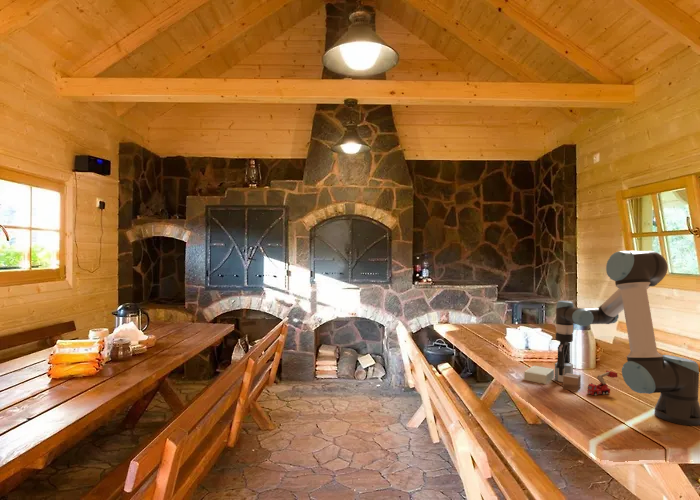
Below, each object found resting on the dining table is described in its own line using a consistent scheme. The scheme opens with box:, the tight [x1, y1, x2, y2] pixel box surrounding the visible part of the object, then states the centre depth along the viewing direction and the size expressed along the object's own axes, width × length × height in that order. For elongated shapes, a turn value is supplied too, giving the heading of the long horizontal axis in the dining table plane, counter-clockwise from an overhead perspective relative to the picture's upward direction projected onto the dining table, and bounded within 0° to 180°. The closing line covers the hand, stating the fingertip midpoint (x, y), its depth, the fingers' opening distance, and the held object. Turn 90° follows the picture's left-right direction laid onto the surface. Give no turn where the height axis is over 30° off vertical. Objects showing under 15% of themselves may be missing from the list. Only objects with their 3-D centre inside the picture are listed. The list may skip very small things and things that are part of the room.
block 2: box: [562, 373, 582, 392], centre depth 205 cm, size 6×6×6 cm
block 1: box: [554, 362, 574, 382], centre depth 218 cm, size 5×7×8 cm
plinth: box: [523, 365, 555, 385], centre depth 220 cm, size 14×10×4 cm
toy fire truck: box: [587, 370, 618, 396], centre depth 199 cm, size 3×14×10 cm, turn 105°
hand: (563, 379), depth 218 cm, fingers open, 7 cm apart
